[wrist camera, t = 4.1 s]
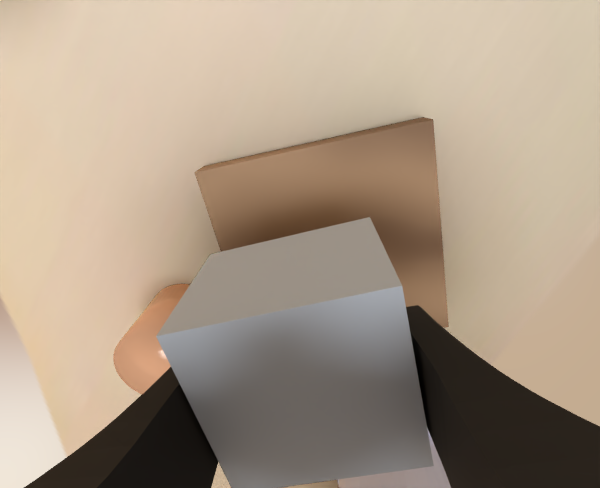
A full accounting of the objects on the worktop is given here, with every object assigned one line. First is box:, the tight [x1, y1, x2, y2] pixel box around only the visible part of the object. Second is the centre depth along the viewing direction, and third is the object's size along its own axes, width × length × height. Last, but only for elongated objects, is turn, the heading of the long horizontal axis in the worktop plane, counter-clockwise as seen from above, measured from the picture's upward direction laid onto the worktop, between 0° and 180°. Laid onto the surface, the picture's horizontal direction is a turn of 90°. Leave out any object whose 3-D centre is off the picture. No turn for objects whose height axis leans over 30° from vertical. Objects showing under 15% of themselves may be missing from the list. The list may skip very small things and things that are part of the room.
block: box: [156, 217, 434, 488], centre depth 11 cm, size 6×6×4 cm
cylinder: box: [114, 284, 190, 394], centre depth 20 cm, size 4×4×4 cm
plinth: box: [195, 117, 448, 327], centre depth 19 cm, size 11×11×2 cm
